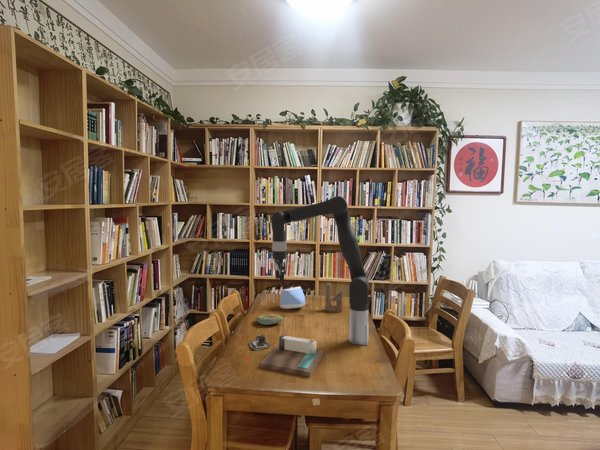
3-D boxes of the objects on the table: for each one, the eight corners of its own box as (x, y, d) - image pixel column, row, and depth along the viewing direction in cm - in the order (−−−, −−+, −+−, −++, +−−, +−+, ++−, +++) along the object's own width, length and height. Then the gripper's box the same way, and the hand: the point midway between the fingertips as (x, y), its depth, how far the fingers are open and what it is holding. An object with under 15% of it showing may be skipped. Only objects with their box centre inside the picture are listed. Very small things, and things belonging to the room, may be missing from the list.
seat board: (323, 354, 143) (323, 350, 143) (310, 377, 124) (310, 371, 124) (278, 347, 150) (278, 343, 150) (260, 367, 131) (260, 362, 131)
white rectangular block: (317, 351, 142) (317, 338, 141) (314, 354, 138) (315, 341, 138) (281, 345, 148) (281, 332, 147) (277, 348, 144) (277, 336, 143)
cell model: (260, 316, 188) (281, 307, 185) (263, 329, 185) (286, 320, 182) (251, 317, 178) (274, 307, 175) (255, 330, 175) (278, 321, 172)
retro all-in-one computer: (270, 308, 210) (270, 288, 209) (292, 302, 221) (292, 283, 221) (288, 316, 194) (288, 294, 193) (311, 310, 205) (311, 290, 205)
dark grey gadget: (258, 334, 162) (273, 331, 156) (260, 347, 160) (276, 344, 154) (241, 339, 152) (256, 335, 146) (243, 353, 150) (259, 350, 145)
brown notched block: (341, 312, 201) (342, 285, 200) (325, 311, 202) (325, 284, 202) (341, 310, 204) (342, 283, 203) (325, 310, 206) (325, 283, 205)
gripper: (290, 251, 159) (290, 282, 159) (282, 247, 172) (282, 276, 173) (275, 251, 156) (276, 283, 157) (269, 248, 170) (269, 278, 170)
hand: (279, 280), depth 165 cm, fingers open, 8 cm apart
